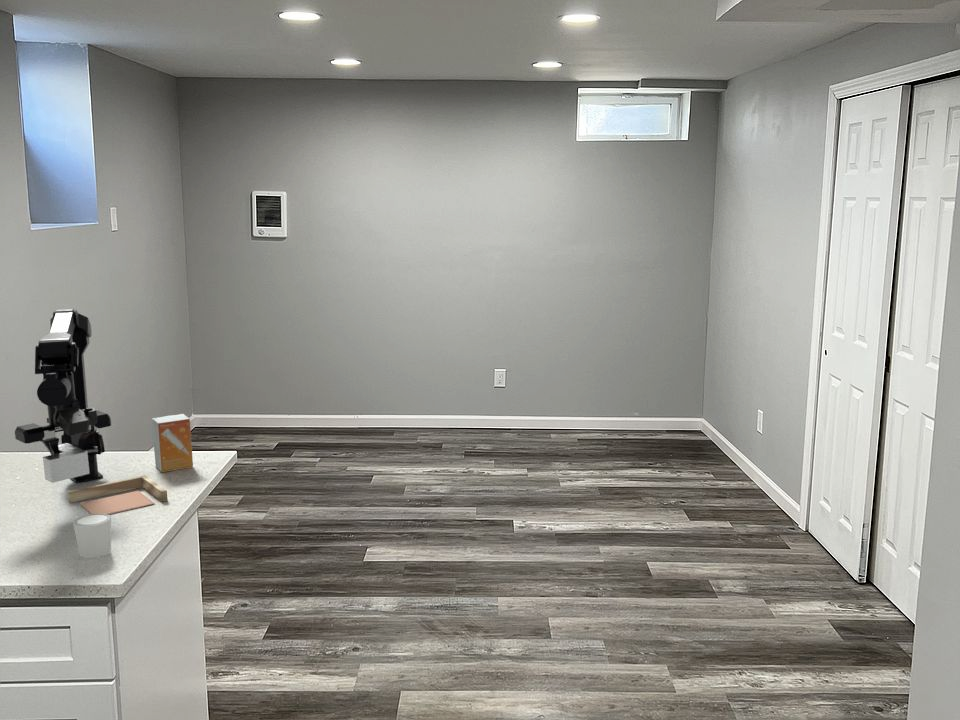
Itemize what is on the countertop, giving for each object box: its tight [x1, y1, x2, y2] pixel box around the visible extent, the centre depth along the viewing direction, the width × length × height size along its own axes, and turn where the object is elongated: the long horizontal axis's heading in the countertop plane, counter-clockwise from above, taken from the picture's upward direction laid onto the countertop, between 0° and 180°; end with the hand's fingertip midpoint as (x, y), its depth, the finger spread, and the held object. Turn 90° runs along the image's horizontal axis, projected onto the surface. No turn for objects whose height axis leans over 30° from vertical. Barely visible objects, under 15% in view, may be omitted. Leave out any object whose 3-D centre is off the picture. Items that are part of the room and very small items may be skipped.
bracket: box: [42, 443, 90, 484], centre depth 196 cm, size 10×8×5 cm
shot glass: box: [72, 513, 112, 559], centre depth 177 cm, size 7×7×7 cm
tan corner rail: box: [67, 474, 169, 504], centre depth 207 cm, size 15×18×2 cm
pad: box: [80, 490, 155, 515], centre depth 205 cm, size 11×13×1 cm
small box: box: [151, 413, 194, 473], centre depth 230 cm, size 8×6×13 cm
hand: (68, 464), depth 199 cm, fingers closed on bracket, 3 cm apart
